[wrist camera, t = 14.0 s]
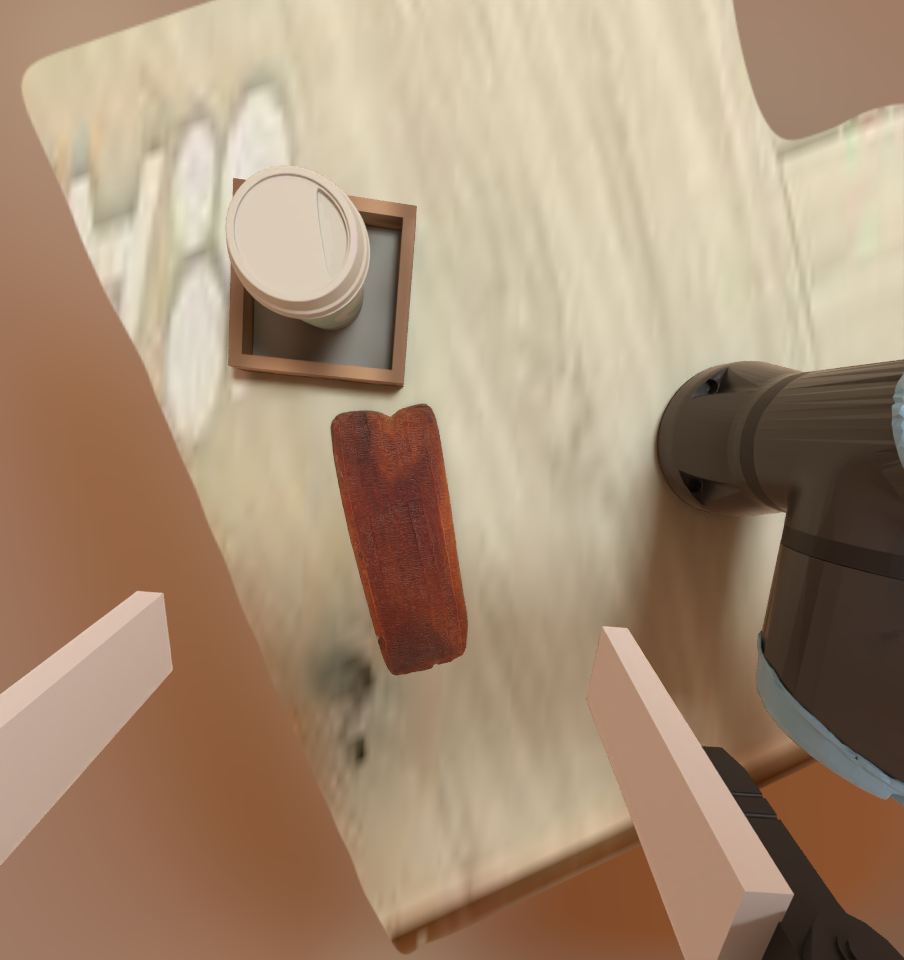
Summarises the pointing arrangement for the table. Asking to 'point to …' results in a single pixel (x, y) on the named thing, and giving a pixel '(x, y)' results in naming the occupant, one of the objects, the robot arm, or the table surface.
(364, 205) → the wood rimmed frame
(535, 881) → the table surface
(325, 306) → the coffee cup
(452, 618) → the wooden tablet
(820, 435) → the robot arm
